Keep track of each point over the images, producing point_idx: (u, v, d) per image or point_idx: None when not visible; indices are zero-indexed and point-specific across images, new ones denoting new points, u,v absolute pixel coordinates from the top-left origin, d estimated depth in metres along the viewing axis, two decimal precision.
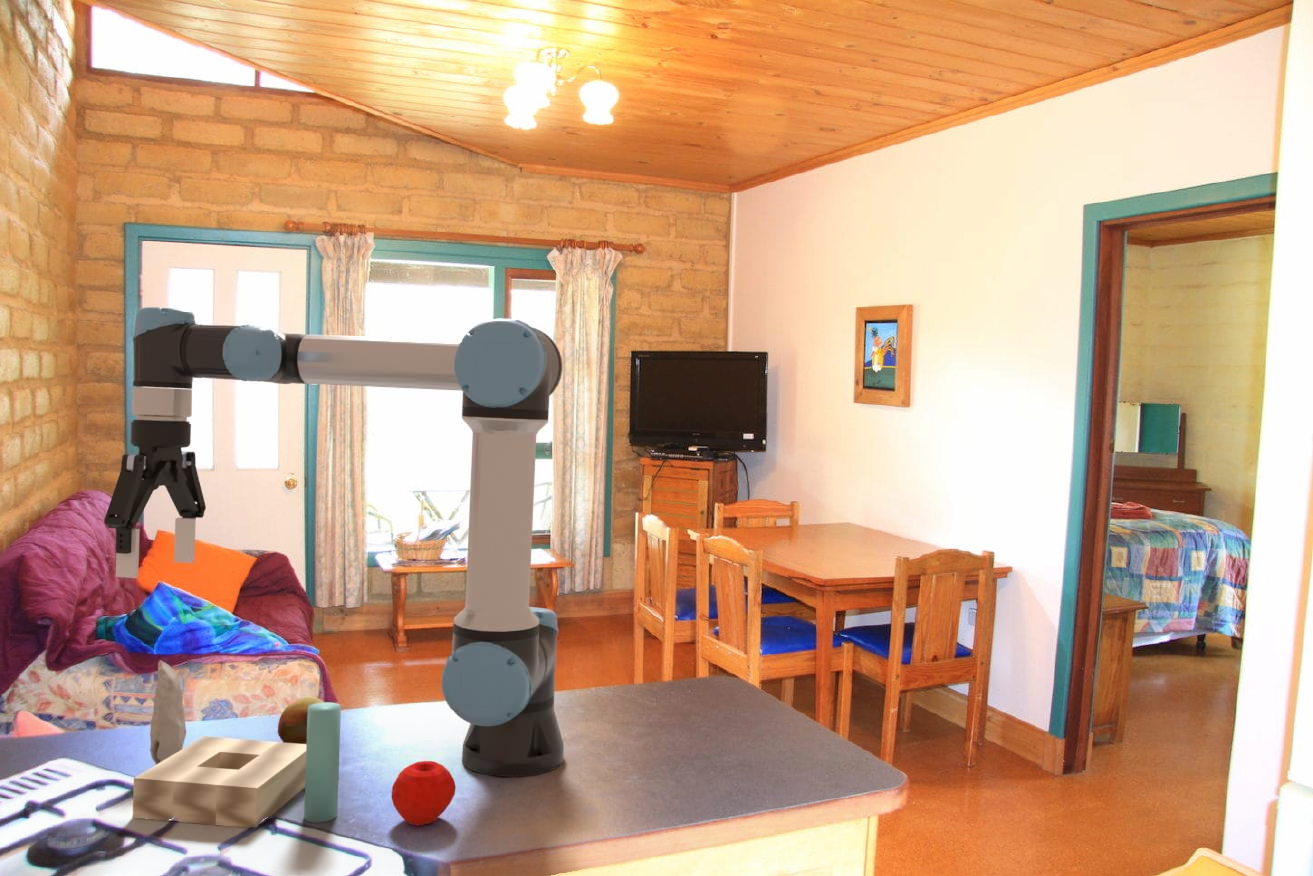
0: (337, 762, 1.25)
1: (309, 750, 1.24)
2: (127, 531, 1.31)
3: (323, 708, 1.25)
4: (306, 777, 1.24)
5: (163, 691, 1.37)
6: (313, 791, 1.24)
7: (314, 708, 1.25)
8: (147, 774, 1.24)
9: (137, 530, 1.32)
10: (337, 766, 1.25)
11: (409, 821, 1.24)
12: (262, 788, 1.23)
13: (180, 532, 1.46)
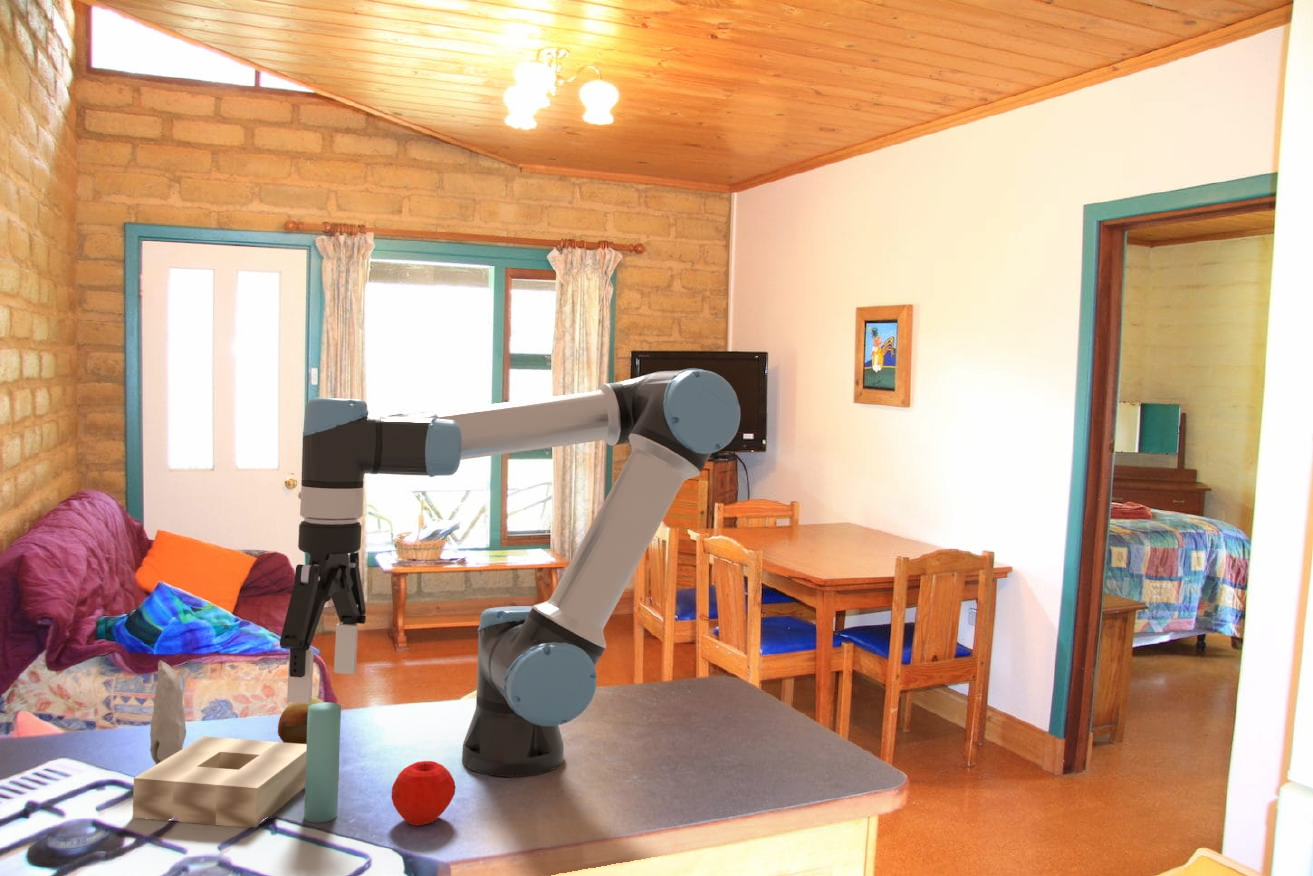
0: (337, 762, 1.25)
1: (309, 750, 1.24)
2: (302, 652, 1.17)
3: (323, 708, 1.25)
4: (306, 777, 1.24)
5: (163, 691, 1.37)
6: (313, 791, 1.24)
7: (314, 708, 1.25)
8: (147, 774, 1.24)
9: (312, 650, 1.18)
10: (337, 766, 1.25)
11: (409, 821, 1.24)
12: (262, 788, 1.23)
13: (341, 641, 1.32)
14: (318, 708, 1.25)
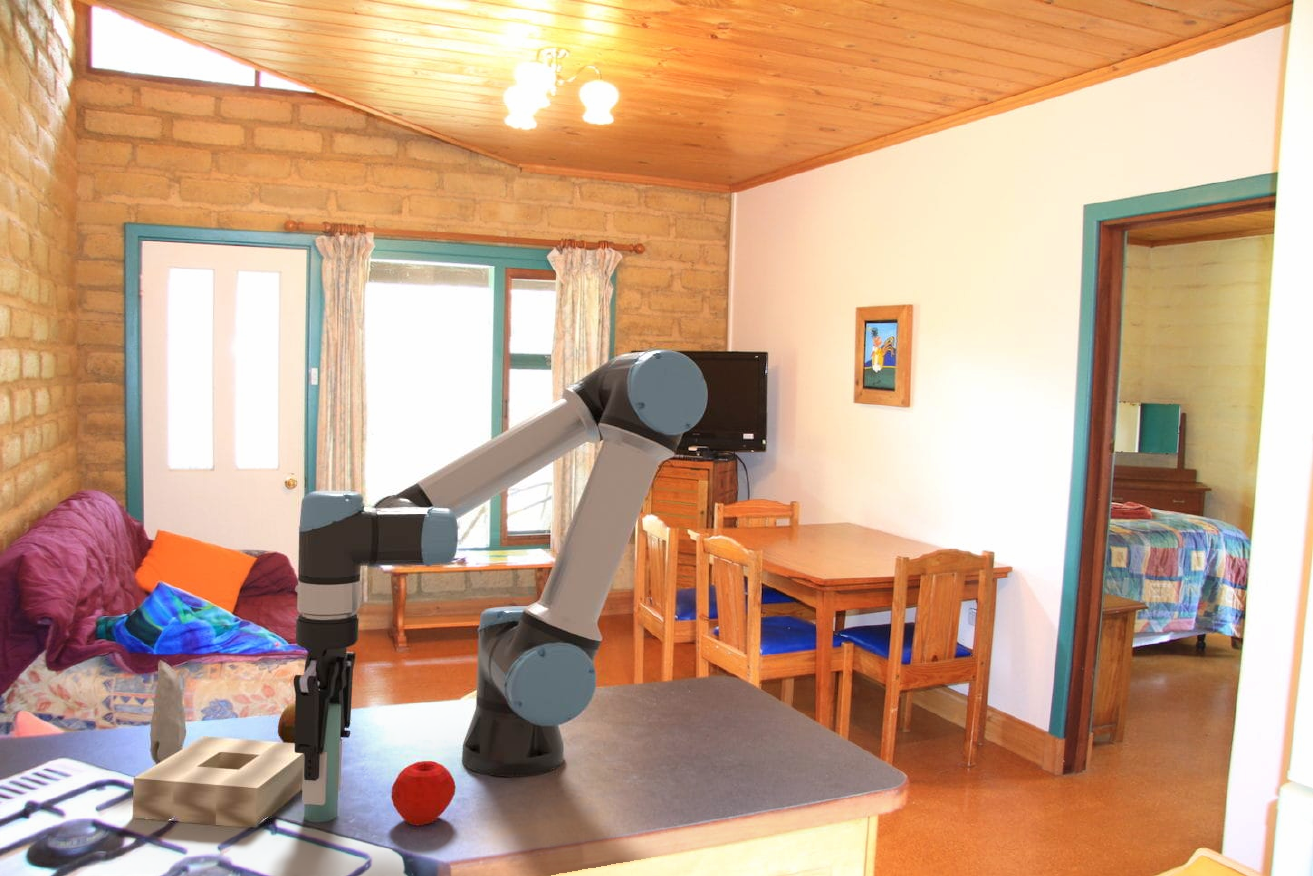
0: (337, 762, 1.25)
1: None
2: (316, 756, 1.22)
3: None
4: None
5: (163, 691, 1.37)
6: None
7: None
8: (147, 774, 1.24)
9: (325, 753, 1.23)
10: (337, 766, 1.25)
11: (409, 821, 1.24)
12: (262, 788, 1.23)
13: None
14: None
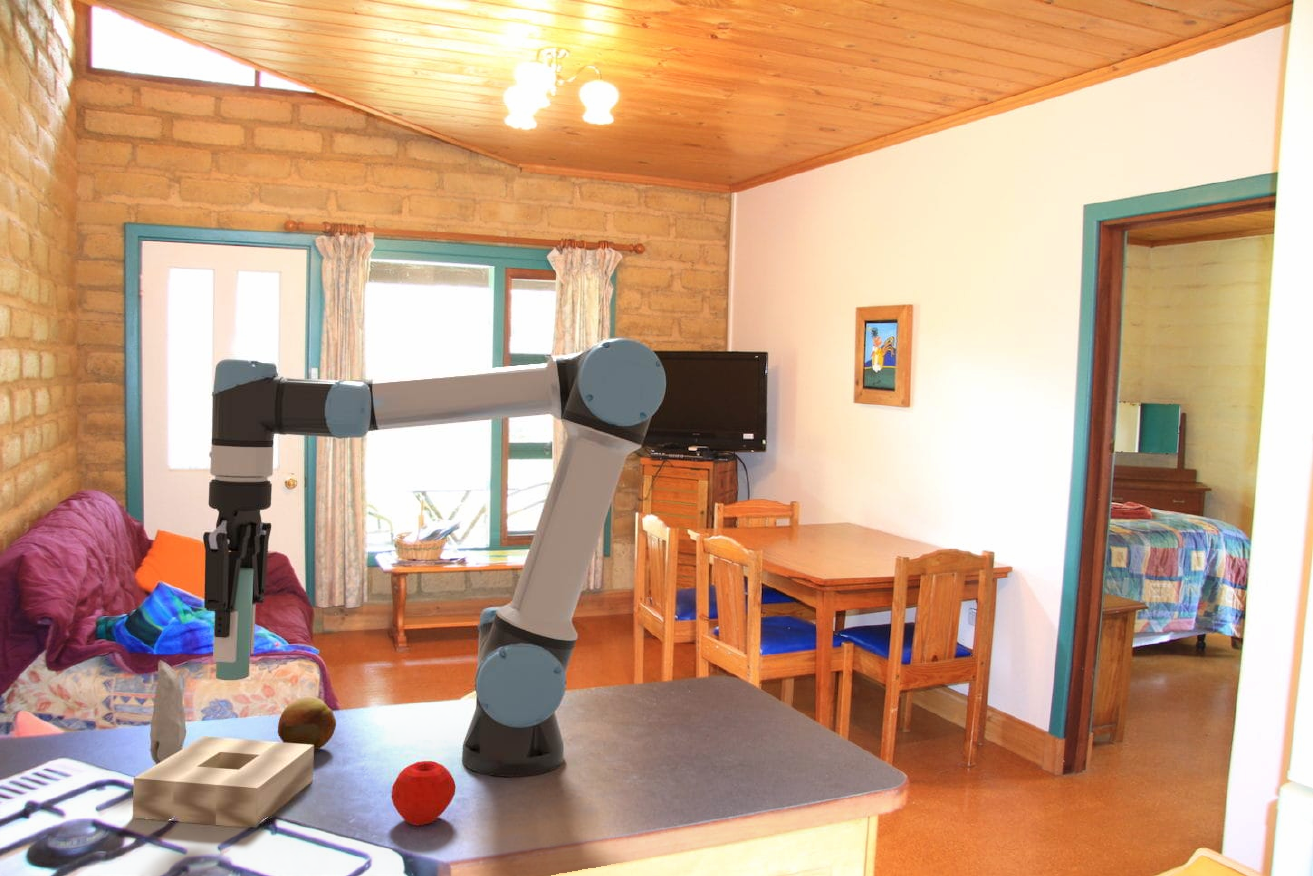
0: (249, 623, 1.29)
1: None
2: (226, 614, 1.25)
3: None
4: None
5: (163, 691, 1.37)
6: None
7: None
8: (147, 774, 1.24)
9: (236, 612, 1.27)
10: (249, 627, 1.29)
11: (409, 821, 1.24)
12: (262, 788, 1.23)
13: None
14: None
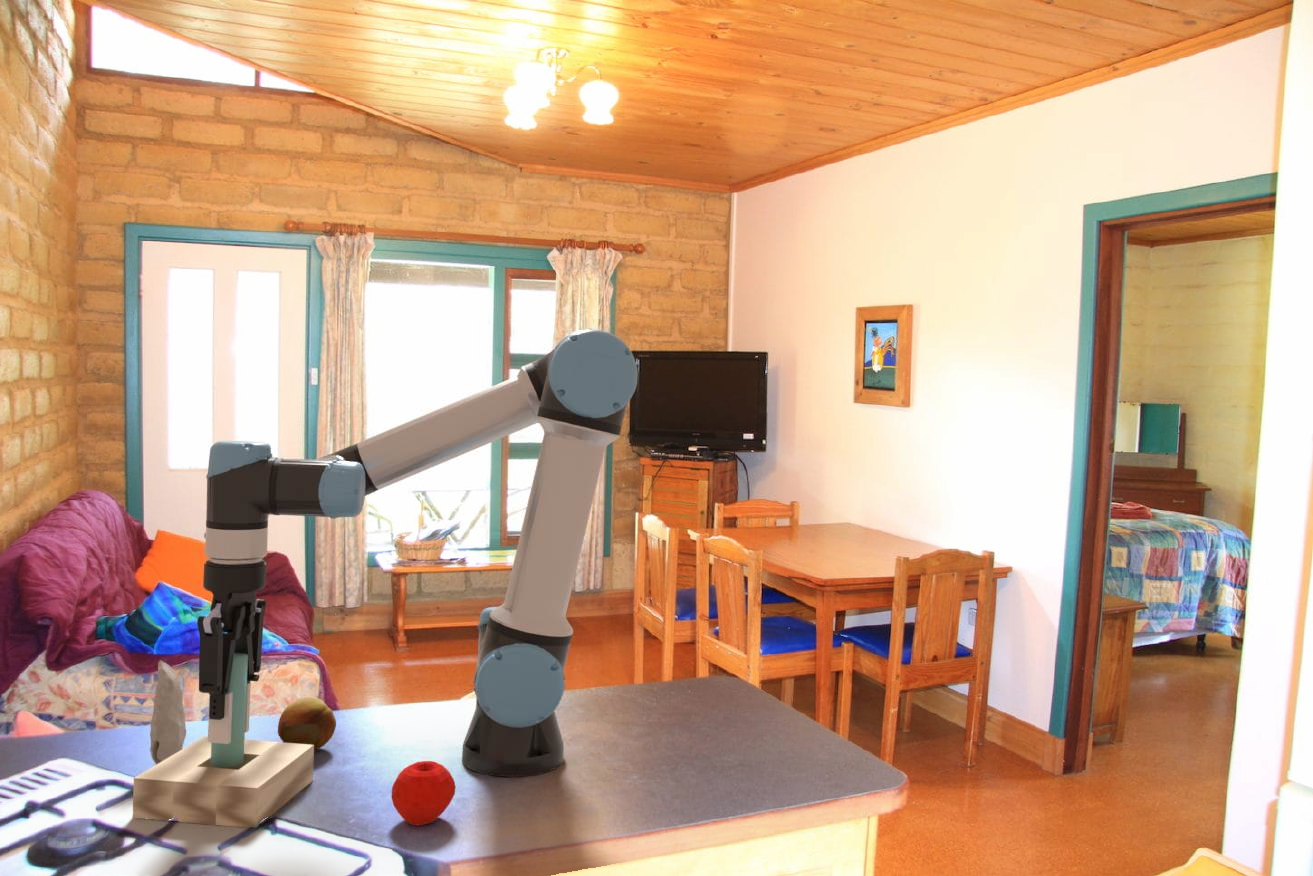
0: (243, 710, 1.29)
1: None
2: (221, 696, 1.26)
3: None
4: None
5: (163, 691, 1.37)
6: None
7: None
8: (147, 774, 1.24)
9: (230, 694, 1.27)
10: (243, 713, 1.30)
11: (409, 821, 1.24)
12: (262, 788, 1.23)
13: None
14: None
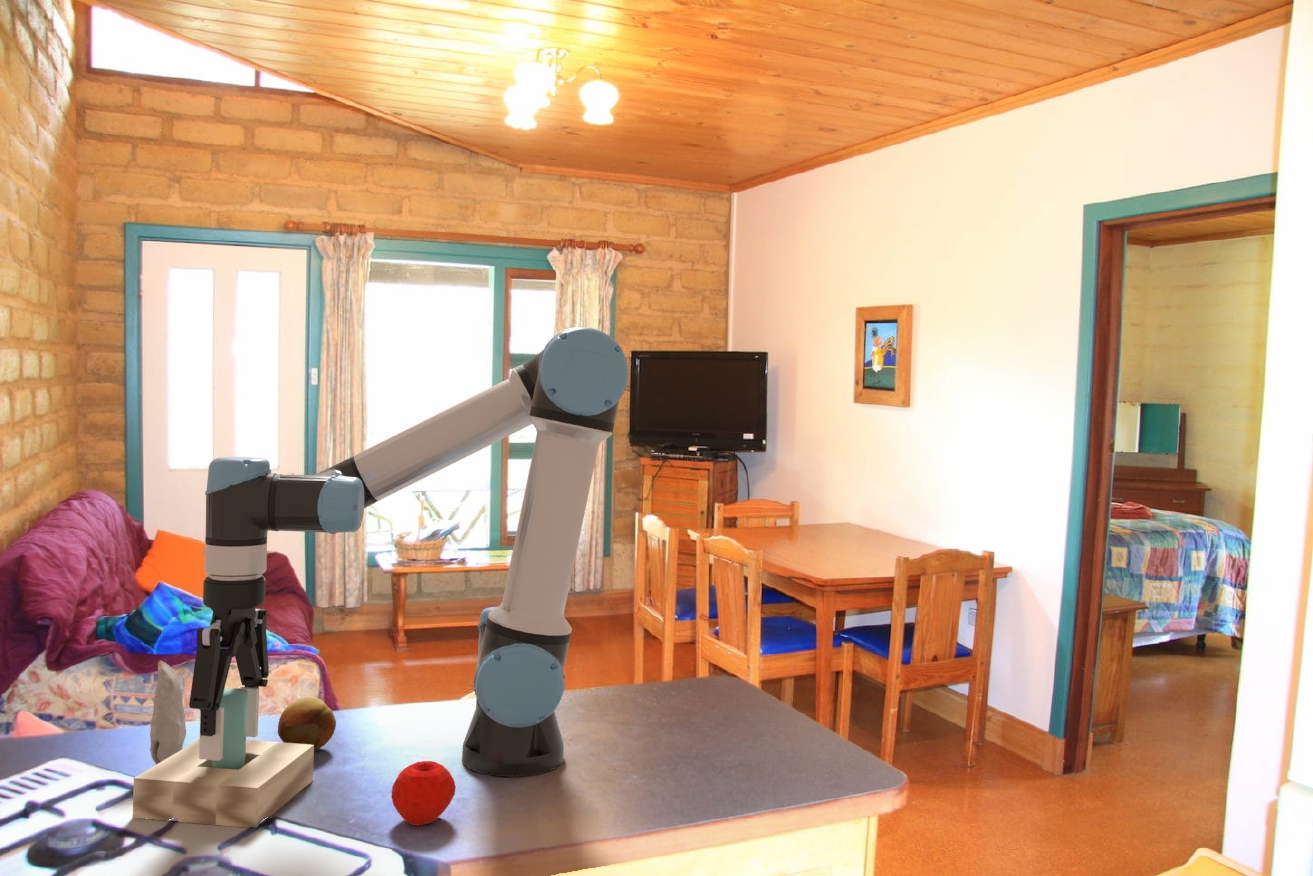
0: (243, 746, 1.30)
1: None
2: (212, 712, 1.24)
3: (230, 693, 1.29)
4: (213, 760, 1.29)
5: (163, 691, 1.37)
6: None
7: None
8: (147, 774, 1.24)
9: (222, 710, 1.25)
10: (243, 750, 1.30)
11: (409, 821, 1.24)
12: (262, 788, 1.23)
13: None
14: (224, 694, 1.29)
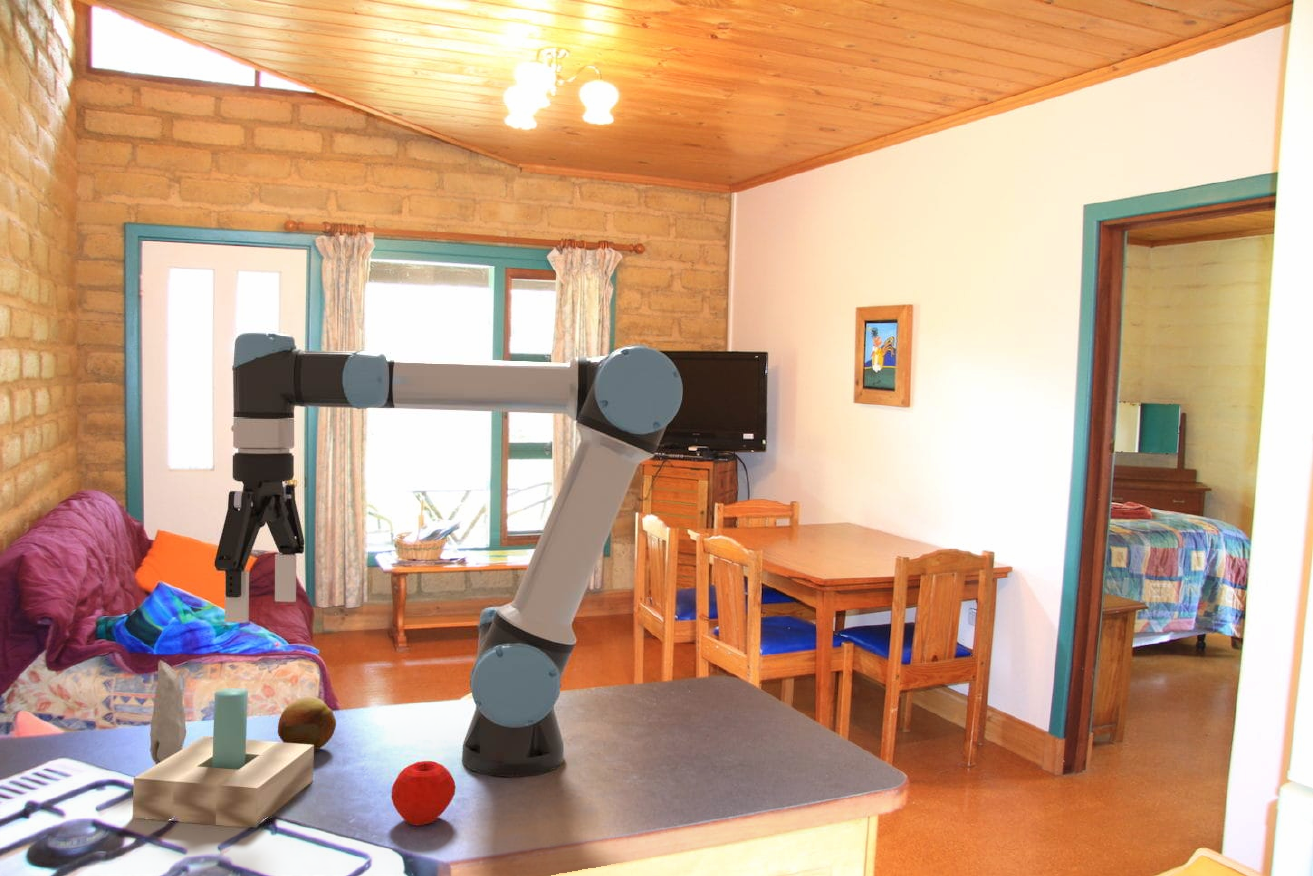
0: (243, 746, 1.30)
1: (215, 734, 1.28)
2: (237, 573, 1.23)
3: (230, 693, 1.29)
4: (213, 760, 1.29)
5: (163, 691, 1.37)
6: None
7: (221, 694, 1.29)
8: (147, 774, 1.24)
9: (247, 572, 1.24)
10: (243, 750, 1.30)
11: (409, 821, 1.24)
12: (262, 788, 1.23)
13: (280, 570, 1.37)
14: (225, 693, 1.29)
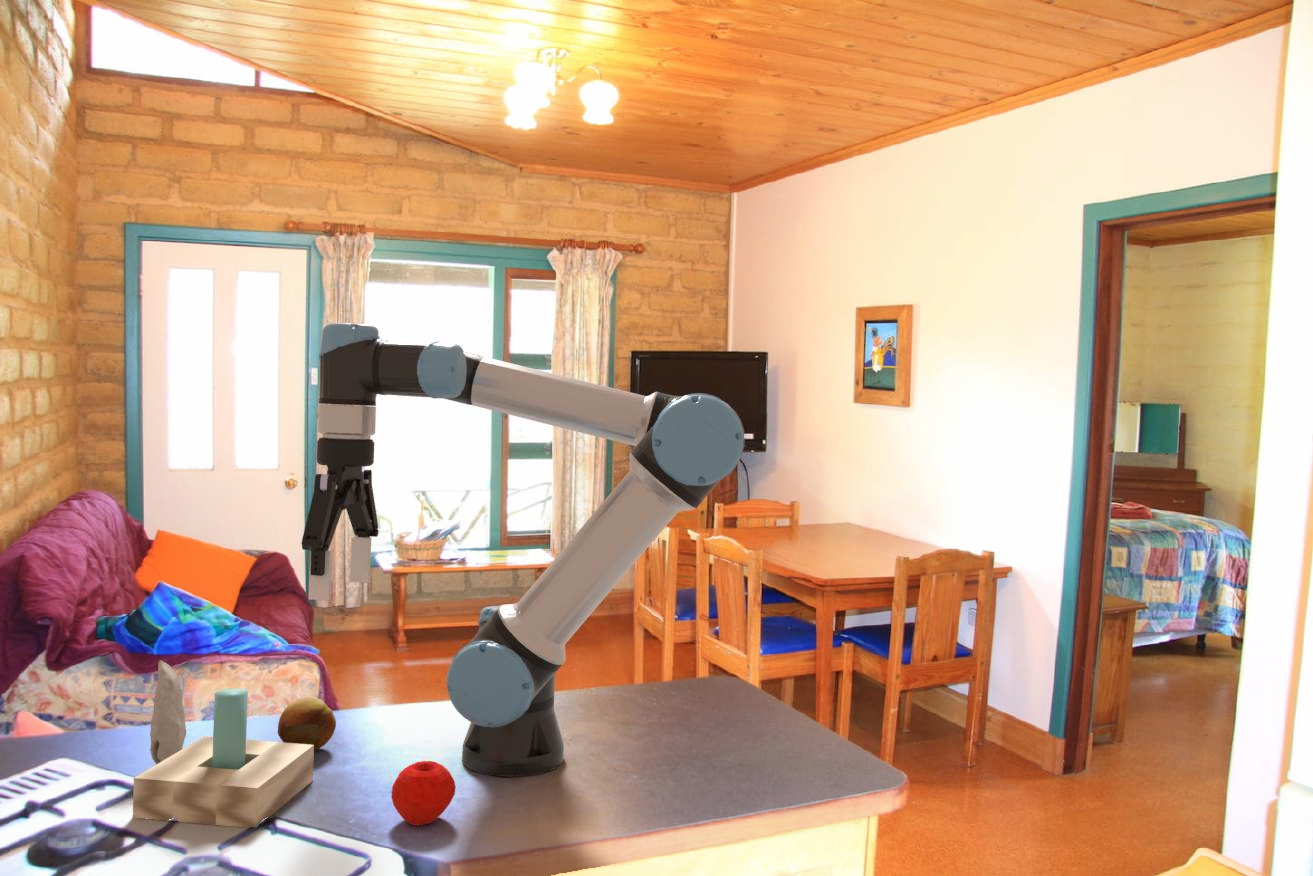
0: (243, 746, 1.30)
1: (215, 734, 1.28)
2: (322, 553, 1.28)
3: (230, 693, 1.29)
4: (213, 760, 1.29)
5: (163, 691, 1.37)
6: None
7: (221, 694, 1.29)
8: (147, 774, 1.24)
9: (330, 551, 1.29)
10: (243, 750, 1.30)
11: (409, 821, 1.24)
12: (262, 788, 1.23)
13: (356, 552, 1.43)
14: (225, 694, 1.29)
